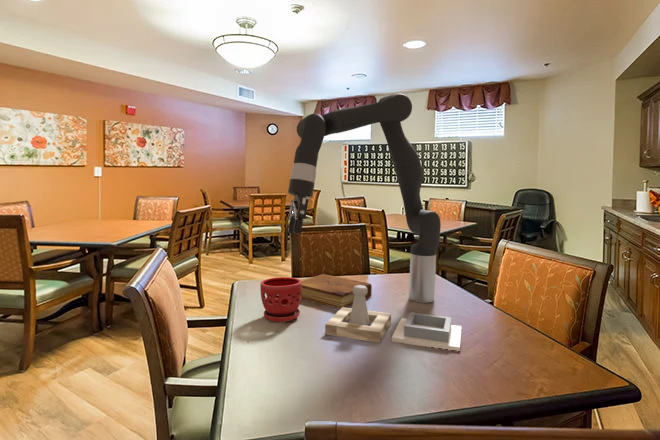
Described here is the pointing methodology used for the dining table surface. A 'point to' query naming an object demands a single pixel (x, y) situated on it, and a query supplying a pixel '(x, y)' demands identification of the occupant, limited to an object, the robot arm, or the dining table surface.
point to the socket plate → (428, 331)
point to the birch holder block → (358, 326)
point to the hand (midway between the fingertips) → (294, 233)
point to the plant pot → (281, 298)
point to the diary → (331, 290)
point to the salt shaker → (359, 306)
